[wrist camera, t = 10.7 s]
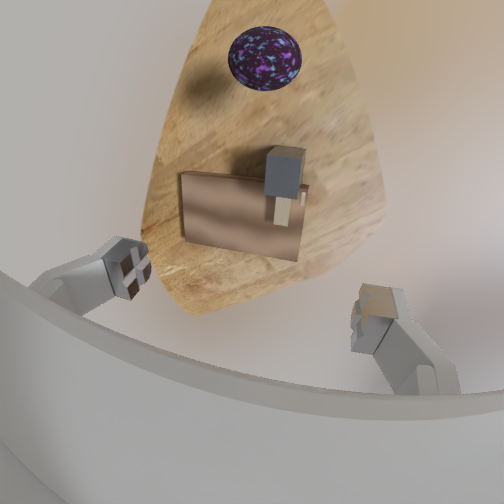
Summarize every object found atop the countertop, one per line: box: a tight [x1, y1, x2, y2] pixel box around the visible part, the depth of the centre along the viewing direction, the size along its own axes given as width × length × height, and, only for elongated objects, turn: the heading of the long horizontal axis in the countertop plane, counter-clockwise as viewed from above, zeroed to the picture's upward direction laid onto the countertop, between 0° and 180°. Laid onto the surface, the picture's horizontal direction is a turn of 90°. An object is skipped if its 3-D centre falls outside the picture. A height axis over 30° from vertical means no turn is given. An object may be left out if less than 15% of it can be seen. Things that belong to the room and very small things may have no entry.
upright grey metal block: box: [264, 145, 306, 227], centre depth 35 cm, size 10×4×7 cm, turn 177°
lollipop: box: [228, 26, 302, 91], centre depth 24 cm, size 7×7×15 cm
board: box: [181, 171, 309, 262], centre depth 42 cm, size 12×19×2 cm, turn 87°
